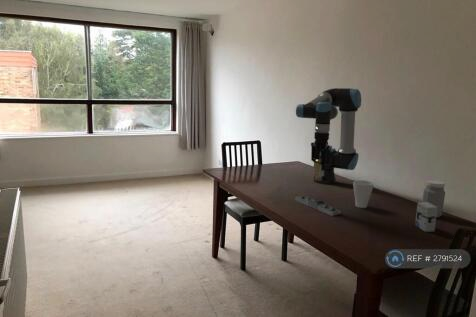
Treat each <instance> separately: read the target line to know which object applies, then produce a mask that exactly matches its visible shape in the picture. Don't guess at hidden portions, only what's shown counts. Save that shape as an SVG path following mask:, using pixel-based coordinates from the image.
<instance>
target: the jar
mask: <svg viewBox="0 0 476 317" xmlns="http://www.w3.org/2000/svg"><path fill="white" fill-rule="evenodd" d="M445 185H446V182H444V181H441V180H437V179H436V180H435V179H427V180H426V182H425V188H424V189H423V194H422V201H421V202H428V203H430V204H432V205H434V206H436V207H437V208H438V209H437V216H436V219H437V218H440V217H441V216H443V210H444V204H445V198H446V192H445Z"/></svg>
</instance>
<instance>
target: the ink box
mask: <svg viewBox="0 0 476 317" xmlns="http://www.w3.org/2000/svg"><path fill="white" fill-rule="evenodd" d="M437 209H438V208H437V207H436V206H434V205H432V204H430V203H428V202H422V201H418V202H417V205H416V211H415V212H416V214H415V221H414V226H416V227H417V228H419V229H420V230H422V231H423V232H426V233H427V232H429V233H430V232H431V233H432V232H433V233H434V232H435V231H436V230H435V229H436V223H437V218H436V216H437Z"/></svg>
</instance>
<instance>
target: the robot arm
mask: <svg viewBox="0 0 476 317" xmlns="http://www.w3.org/2000/svg"><path fill="white" fill-rule="evenodd" d="M361 106H362V94H361V91H360V90H359V89H357V88H345V87H344V88H343V87H342V88H338V87H337V88H336V87H335V88H329V89H327V90H324V91H322V92H320V93H319V94H318V95H317V97H315V98H313V99H311V100H310V101H309V102H307V103H301V104H300V103H299V104H297V105H296V108H295V115H296V117H297V118H302V119H315V126H314V131H315V132H314V135H313V136H314V139H315V140H314V142H310V148H311V156H310V158H311V159H310V160H311V161H312V162H313V169H314V170H313V175H314V176H313V182H315V183H318V184H324V185H332V184H335V183H337V182H336V181H337V178H336V174H335V169H338V170H339V169H341V170H346V171H354V170H355V169H356V167H357V164H358V161H359V153H357V152H356V151H357V150H356V149H355V147H354V146H355V129H356V128H355V124H356V112H358V110H359V108H361ZM339 112H340V113H341V114H340V115H341V116H340V142H339V143H340V144H339V148H338V149H336V148H333V146H332V145H330V144H329V142H328V141H329V140H330V129H331V127H330V126H331V120H334V119H336V117H338V113H339ZM315 159H321V164H320V170H319V176H320V177H321V176H322V179H321V181H318V180H315V178H316V164H317V162H315Z"/></svg>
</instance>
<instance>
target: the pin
mask: <svg viewBox="0 0 476 317" xmlns="http://www.w3.org/2000/svg"><path fill="white" fill-rule="evenodd" d="M315 162H317V164H316V178H315V180H318V181H321V179H322V176H321V177H320V176H319V170H320V164H321V159H315Z"/></svg>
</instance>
